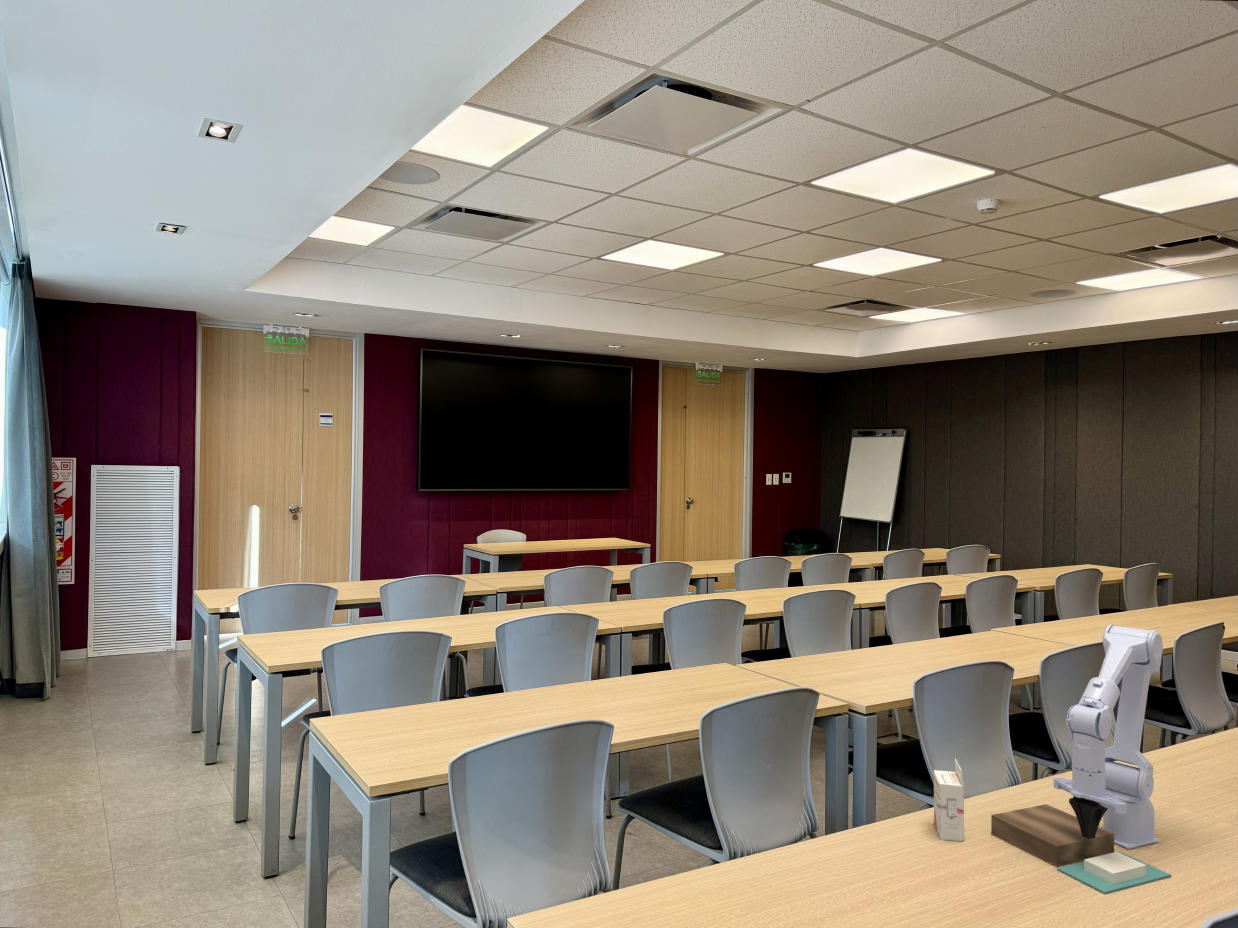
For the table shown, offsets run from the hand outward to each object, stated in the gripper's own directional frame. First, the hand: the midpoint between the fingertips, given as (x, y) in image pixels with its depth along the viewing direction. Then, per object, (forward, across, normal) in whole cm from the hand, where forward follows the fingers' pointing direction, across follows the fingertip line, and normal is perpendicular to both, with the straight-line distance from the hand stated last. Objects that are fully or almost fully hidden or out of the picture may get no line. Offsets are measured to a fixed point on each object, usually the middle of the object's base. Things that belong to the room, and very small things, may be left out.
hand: (1088, 836), depth 164 cm
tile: (+3, +6, 0) cm, 7 cm away
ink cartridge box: (+5, -21, -16) cm, 27 cm away
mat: (+5, +5, 0) cm, 7 cm away
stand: (+5, -9, 0) cm, 10 cm away
